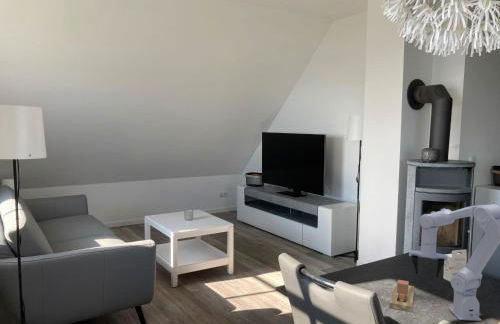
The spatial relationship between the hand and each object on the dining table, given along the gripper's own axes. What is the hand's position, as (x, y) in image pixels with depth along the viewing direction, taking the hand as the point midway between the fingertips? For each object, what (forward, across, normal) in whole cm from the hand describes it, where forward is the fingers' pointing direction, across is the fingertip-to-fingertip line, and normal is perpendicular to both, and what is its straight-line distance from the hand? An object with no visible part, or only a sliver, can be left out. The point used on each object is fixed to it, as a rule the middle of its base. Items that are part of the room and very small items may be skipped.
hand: (426, 274), depth 169 cm
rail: (+10, +9, +6) cm, 14 cm away
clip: (+10, +9, +10) cm, 16 cm away
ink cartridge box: (+10, -12, -28) cm, 32 cm away
